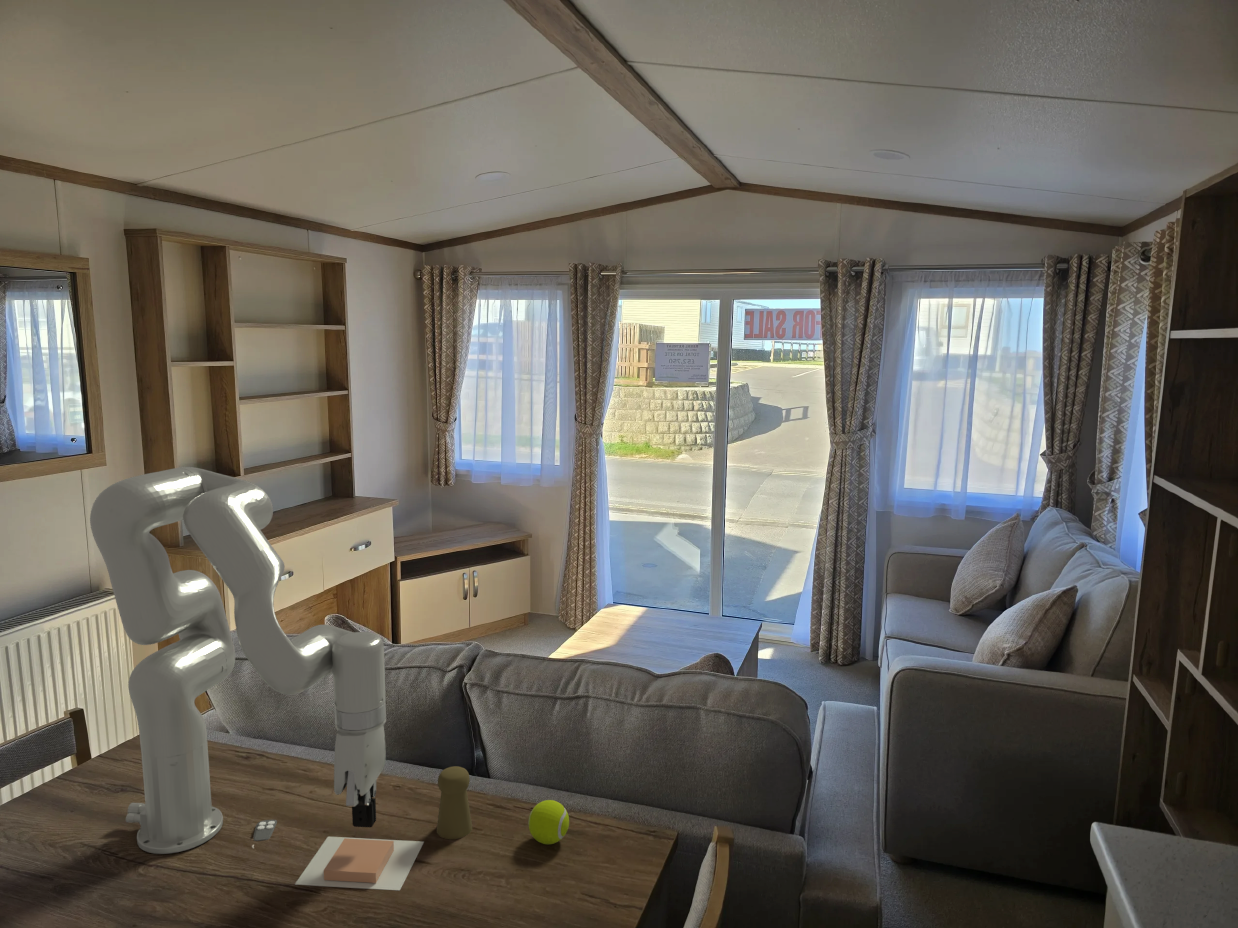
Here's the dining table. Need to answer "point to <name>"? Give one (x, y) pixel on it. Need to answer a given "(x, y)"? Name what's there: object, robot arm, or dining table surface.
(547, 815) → the tennis ball
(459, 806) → the cork
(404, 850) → the mat
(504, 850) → the dining table surface
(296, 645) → the robot arm
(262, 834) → the key chain
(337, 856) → the tile
